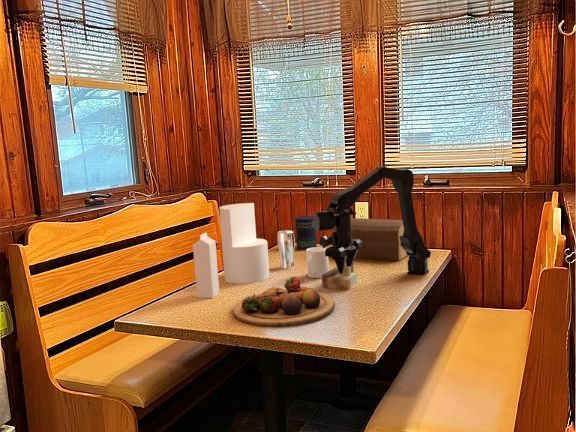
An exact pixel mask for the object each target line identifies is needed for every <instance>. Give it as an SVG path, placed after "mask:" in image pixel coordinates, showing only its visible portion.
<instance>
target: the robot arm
mask: <svg viewBox="0 0 576 432" xmlns="http://www.w3.org/2000/svg"><path fill="white" fill-rule="evenodd" d="M414 176H415V175H414V173H413V171H412V170H410V169H409V168H398V167H397V168H391V167H388V166H385V165H384V166H383V165H378V166H376V167H375V168H374V169H373V170H372V171H370V172H369V173H367V174H366V175H365V176H363V177H362V178H361V179H359V180H358V181H357V182H355V183H354V184H352V186H349V187H346V188H344V189H340V190H339V191H337V192H335V193H334V194H333V195H332V196H331V201H330V203H329V205H327V208H325V209H326V210H324V211H318V210H316V211H315V212H314V215H313V216H314V220H313V226H314V229H315V230H316V232H322V231H330V230H333V231H334V227H335V231H334V232H333V231H332V234H331V235H330V236H326V235H323V236H321V237H319V240H318V242H319V246H320V247H323V248H327V249H326V250H325V256H328V258H329V257H330V258H332V260H334V262H335V265H336V267H337V268H338V271H339V273H341V274H342V273H343V270H344V266H345V263H346V266H350V267H351V266H352V263H353V264H354V260H355V256H356V254H357V252H358V250H359V249H355V247H354V246H357V248H360V247H362V241H361V240H360V239H352V235H351V234H352V233H354V232H353V230H351V218H352V217H351V216H354V215H357V212H356V211H355V210H354V209H353V208H352V207H353V206H354V205H355V203H357V201H358V199H359V198H360V196H362V195H363V194H365V193H366V192H368V190H370V189H371V188H373V187H375V186H376V184H378V183H380V182H381V181H382V180H383V179H386V180H389V181H390V180H391V183H392V186H393V188H394V190H395V191H396V193H397V196H398V201H399V206H400V213H401V220H403V226H404V233H403V236H399V238H400V241H401V245H400V246H402V248H403V250H405V251H406V254H407V255H408V260H407V274H408V275H409V274H410V275H423V276H424V275H426V274H427V273H428V272H430V269H429V265H428V264H429V262H428V259H430V258H431V255H432V251H430V250H429V249H428V248H427V247H426V246H425V241H424V239H423V236H422V235H421V233H420V232H419V230H418V225H417V224H418V223H417V219H416V214H415V213H416V212H415V207H414V200H413V194H412V193H413V192H412V191H413V188H414V186H415V185H414V184H415V180H414V179H415V178H414ZM335 246H337V247H335Z"/></svg>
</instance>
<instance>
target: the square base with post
mask: <svg viewBox="0 0 576 432" xmlns="http://www.w3.org/2000/svg"><path fill="white" fill-rule="evenodd" d="M333 277H339V278H349V279H350V281H351V287H352V286H354V285H355V284H357V283H358V274H357V273H355V272H354V273H351V267H350V266H344V270H343V273H342V274H341V273H339V274H337V275H335V276H333Z"/></svg>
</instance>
